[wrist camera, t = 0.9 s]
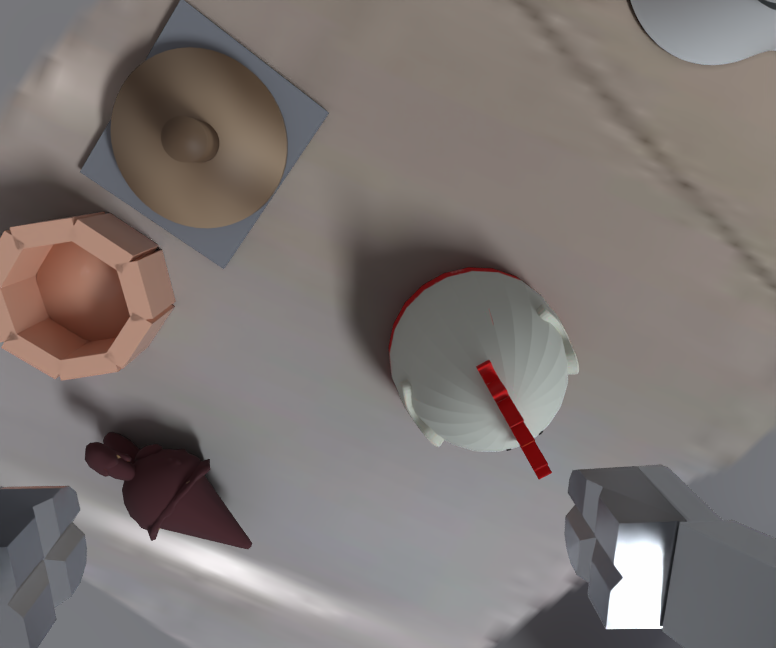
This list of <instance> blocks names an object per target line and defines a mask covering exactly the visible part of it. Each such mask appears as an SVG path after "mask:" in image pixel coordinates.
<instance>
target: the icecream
mask: <svg viewBox="0 0 776 648" xmlns="http://www.w3.org/2000/svg"><path fill="white" fill-rule="evenodd" d="M103 442H104V444H102V443H99V442H94V443H89V444H88V445H87V446H86V451H85V461H86V462H87V464H88V465H89V467H91V468H92V469H93V470H95V471H96V472H98V473H99V474H101V475H103V476H105V477H106V476H108V475H109V476H111V477H113V478H115V479H120V480H124V484H123V488H122V492H123V499H124V504H125V506H126V508H127V510H128V512H129V514H130V516H131V517H132V518H133V519H134V520H135V521H136V522H137V523H138V524H139V526H140V527H141V528H143V529H146V530H148V533H149V536H150V539H151V541H152V540H155V539H156V537H157V534H158V531H159V529H160V528H161V529H165V530H169V531H174V532H178V533H182V534H186V535H190V536H194V537H198V538H203V539H207V540H211V541H215V542H219V543H223V544H227V545H231V546H235V547H239V548H244V549H249V548H250V547H251V545H252V542H251V541H250V539H249V538H248V536H247V535H246V534H245V532H244V531H243V529H242V528H241V527H240V525H239V524H238V522H237V521H236V520H235V518H234V517H233V515H232V514H231V512H230V511H229V510H228V508H227V507H226V505H225V504H224V502H223V501H222V500H221V498H220V497H219V495H218V494H217V492H216V491H215V490H214V488H213V487H212V485H211V484H210V482H209V481H208V479H207V478H206V477H205V474H206V473H207V472H208V471H209V470H210V464H209V463H210V459H207V460H204V461H201V460H200V459H199V458H198V457H197V456H195V455H192V454H189V453H188V452H187V451H186V450H185V449H178V450H173V449H162V447H161V446H160V445H158V444H153V445H149V446H145V447H143V448H142V449H141V450H140V449H139V448H138V447H137V446H136V445H135V444H134V443H132V442H131V441H130V440H128V439H127V438H125V437H123V436H122V435H120V434H117V433H114V432H109V433H108V434H107V435H106V436H105V437H104V440H103Z"/></svg>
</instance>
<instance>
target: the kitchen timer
mask: <svg viewBox="0 0 776 648" xmlns="http://www.w3.org/2000/svg"><path fill="white" fill-rule="evenodd" d="M389 356H390V367H391V375H392V378H393V381H394V383H395V385H396V388H397V390H398V393H399V396H400V399H401V401H402V403H403V405H404V407H405V409H406V410H407V412H408V413H409V415H410V416H411V418H412V419H413V421H414V422H415V423H416V425H417V426H418V428H419V429H420V430H421V432H422V433H423V434H424V435H425V437H426V438H427V439H428V440H429V441H430V442H431V443H432V444H433V445H435V446H436V447H440V446H441V444H442V443H443V441H444V440H446V441H447V442H449V443H450V444H453V445H456V446H459V447H462V448H466V449H469V450H472V451H483V452H499V451H503V450H507V451H508V450H511V449H512V448H516V447H519V446H520V447H521V449H522V450H523V452H524V454H525V456H526V457H527V459H528V461H529V463H530V465H531V466H532V468H533V470H534V472H535V473H536V475H537V477H538V479H541V478H543V477H545V476H547V475H549V474H551V473H552V472H551V470H550V468H549V467H548V463H547V461H546V460H545V458H544V456H543V455H542V453H541V451H540V450H539V448H538V446H537V445H536V443H535V439H534V438H535V437H536V436H537V435H538V434H539V435H540V434H541V433H542V432H543V430H544V429H545V428H546V427H547V426H548V425H549V424H550V423H551V421H552V419H553V418H554V416H555V415H556V413H557V412H558V410H559V409H560V407H561V404H562V401H563V398H564V395H565V391H566V388H567V384H568V374H578V372H579V364H578V360H577V357H576V354H575V351H574V348H573V346H572V344H571V341H570V339H569V337H568V335H567V333H566V331H565V329H564V327H563V325H562V323H561V321H560V320H559V318H558V316H557V315H556V313H555V312H554V311H553V310H552V309H551V308H550V307H549V306H548V304H547V303H546V301H545V300H544V299H543V297H542V296H541V295H540V294H539V293H537V292H536V291H535V290H533V289H532V288H531V287H529V286H528V285H527V284H525V283H524V282H523V281H521V280H520V279H519V278H517V277H516V276H513V275H510V274H507V273H505V272H502V271H499V270H496V269H493V268H472V267H468V268H464V269H459V270H455V271H451V272H447V273H444V274H442V275H440V276H438V277H436V278H435V279H433V280H431V281H429V282H428V283H426V284H424V285H422V286H421V287H420V288H419V289H418V290H417V291H416V292H415V293H414V294H413V295H412V296H411V297H410V298H409V299H408V300H407V301H406V302H405V304H404V306H403V307H402V309H401V311H400V313H399V315H398V317H397V318H396V320H395V322H394V324H393V329H392V333H391V338H390V343H389Z"/></svg>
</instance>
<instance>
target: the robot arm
mask: <svg viewBox="0 0 776 648" xmlns="http://www.w3.org/2000/svg"><path fill="white" fill-rule="evenodd" d="M630 1H631V4H632V7H633V9H634V12H635V14H636V16H637V18H638V20H639V22H640V23H641V25H642V27H643V28H644V29H645V31H646V32H647V33H648V35H649V36H650V37H651V38H652V39H653V40H654V41H655V42H656V43H657V44H658V45H659V46H660V47H661V48H663V49H664V50H666V51H667V52H669V53H670V54H672V55H674V56H676V57H678V58H680V59H682V60H685V61H688V62H692V63H696V64H703V65H721V64H728V63H733V62H737V61H740V60H743V59H746V58H748V57H751V56H754V55H756V54H759V53H762V52H766V51H770V50H773V51H776V0H630ZM568 494H569V495H570V497H571V499H572V500H573V502H574V503H575V506H574V507H573V508H572V509H571V510H570V512H569V513H568V514H567V515H566V518H565V541H566V549H567V553H568V556H569V559H570V563H571V565H572V567H573V569H574V571H575V573H576V575H578V576H579V577H581V578H582V579H584V580H585V581H587V582H588V583H589V589H588V597H589V599H590V600H591V602H592V604H593V606H594V608H595V610H596V612H597V613H598V615H599V617H600V619H601V620H602V622H603V624H604V626H605V628H606V629H623V628H624V629H626V628H627V629H628V628H662V631H663V632H665V633H666V634H667V635H668V636H670V637H671V638H672V639H674V640H675V641H676V642H677V643H679V644H680V645H681V646H683V647H684V648H776V538H774V537H772V536H770V535H767V534H765V533H763V532H760V531H758V530H755V529H753V528H751V527H748V526H746V525H744V524H741V523H739V522H737V521H734V520H722V519H721V518H720V517H719V516H718V515H717V514H716V513H715V512H714V511H713V510H712V509H710V507H709V506H708V505H707V504H706V503H704V501H703V500H701V499H700V498H699V497H698V496H697V495H696V494H695V493H694V492H693V491H692V490H691V489H690V488H689V487H688V486H687V485H686V484H685V483H684V482H683V481H682V480H681V479H680V478H679V477H678V476H677V475H676V474H674V473H673V472H672V471H671V470H670V469H669V468H668V467H666V466H663V465H646V466H632V467H615V468H598V469H581V470H573V471H572V473H571V476H570V479H569V487H568ZM79 511H80V506H79V502H78V498H77V493H76V491H75V490H73V489H72V488H71V487H70V486H33V487H0V648H38V647H39V645H40V644H41V642H42V640H43V639H44V638H45V636H46V635H47V633H48V632H49V630H50V629H51V627H52V625H53V624H54V623H55V621H56V614H55V609H54V608H55V607H56V606H58V605H59V604H61V603H63V602H64V601H65V600H67V599H69V598H70V597H72V595H73V593H74V592H75V590H76V589H77V587H78V586H79V584H80V582H81V579H82V576H83V573H84V569H85V566H86V557H87V546H86V539H85V534H84V533H83V532H82V531H81V530H80V529H79V528H78V527H77V526H76V525H75V524H74V523H73V521H74V519H75V518H76V516H77V515H78V513H79Z"/></svg>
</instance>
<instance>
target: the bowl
mask: <svg viewBox="0 0 776 648" xmlns="http://www.w3.org/2000/svg"><path fill="white" fill-rule="evenodd" d="M157 247H158V244H156V243H155V242H153V241H152V240H150V239H149V238H147V237H146V236H144V235H143V234H141V233H140V232H138V231H137V230H135V229H134V228H132V227H131V226H129V225H128V224H126V223H125V222H123V221H122V220H120V219H119V218H117V217H116V216H114V215H113V214H111V213H107V214H105V212H97V213H91V214H84V215H78V216H71V217H65V218H58V219H52V220H46V221H41V222H35V223H30V224H25V225H19V226H14V227H10V230H6V231H4V232H3V234H2V236H1V238H0V342H4V344H3V345H2V347H1V348H3V349H4V350H6V351H8V352H10V353H11V354H13V355H15V356H16V357H18V358H20V359H21V360H23V361H25V362H27V363H28V364H30V365H32V366H33V367H35V368H37V369H39V370H40V371H42V372H44V373H45V374H47V375H49V376H50V377H52V378H54V379H56V378H58V377H59V376H60V378H61V381H62V380H68V379H75V378H81V377H88V376H94V375H100V374H107V373H113V372H118V371H120V370H121V369H123V368H124V367H125V366H127V365H128V364H129V363H130V362H131V361H132V360H133V359H135V358H136V357H137V356H138V355H139V354H140V353H142V352H143V351H144V350H145V349H146V348H147V347H148V346H149V345H150V343H151V342H152V340H153V339H154V337H155V336H156V334H157V333H158V331H159V330H160V328H161V327H162V325H163V324H164V322H165V321H166V319H167V318H168V316H169V315H170V313H171V312H172V310H173V309H174V307H175V306H173V305H172V304H173V303H174V302H176V301H175V297H174V293H173V289H172V286H171V282H170V278H169V274H168V270H167V267H166V263H165V259H164V255H163V252H162V250H158V251H155V250H156V249H157Z"/></svg>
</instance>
